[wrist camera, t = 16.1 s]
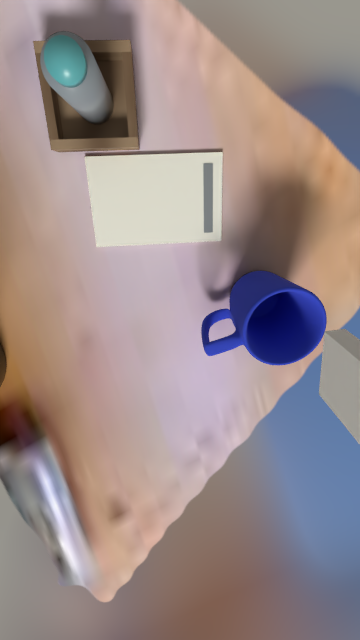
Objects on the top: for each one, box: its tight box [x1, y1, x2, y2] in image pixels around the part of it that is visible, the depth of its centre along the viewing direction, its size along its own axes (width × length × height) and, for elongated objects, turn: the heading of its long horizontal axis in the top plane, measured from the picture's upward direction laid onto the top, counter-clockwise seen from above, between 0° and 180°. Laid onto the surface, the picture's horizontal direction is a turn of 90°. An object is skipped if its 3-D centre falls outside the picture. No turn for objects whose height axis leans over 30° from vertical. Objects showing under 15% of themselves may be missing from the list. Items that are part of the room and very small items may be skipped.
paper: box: [85, 152, 223, 247], centre depth 35 cm, size 14×9×1 cm, turn 92°
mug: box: [201, 271, 326, 365], centre depth 36 cm, size 8×12×10 cm
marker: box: [40, 31, 114, 124], centre depth 25 cm, size 3×3×12 cm
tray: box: [33, 40, 139, 152], centre depth 30 cm, size 8×8×3 cm
